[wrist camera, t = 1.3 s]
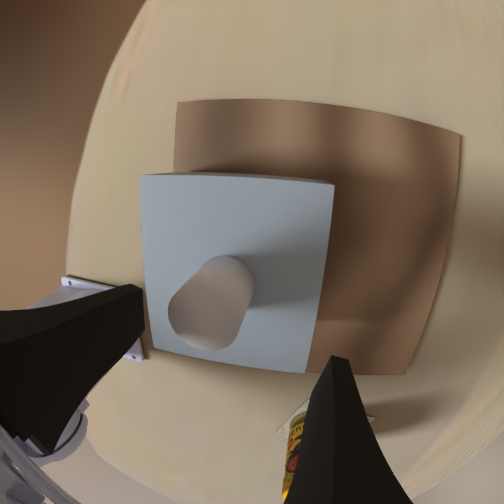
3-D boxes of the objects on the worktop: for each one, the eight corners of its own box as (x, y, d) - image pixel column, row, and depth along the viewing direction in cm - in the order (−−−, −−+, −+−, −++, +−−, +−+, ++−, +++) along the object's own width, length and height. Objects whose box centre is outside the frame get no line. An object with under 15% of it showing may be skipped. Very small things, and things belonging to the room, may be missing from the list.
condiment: (308, 397, 23) (301, 509, 12) (375, 416, 23) (390, 512, 11) (273, 433, 25) (257, 525, 14) (336, 449, 25) (336, 533, 14)
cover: (186, 306, 21) (125, 383, 12) (184, 171, 18) (94, 180, 9) (305, 322, 19) (302, 421, 11) (323, 180, 16) (349, 191, 8)
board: (183, 346, 23) (180, 351, 23) (182, 104, 17) (177, 102, 16) (402, 369, 20) (404, 374, 20) (454, 135, 14) (459, 134, 14)
